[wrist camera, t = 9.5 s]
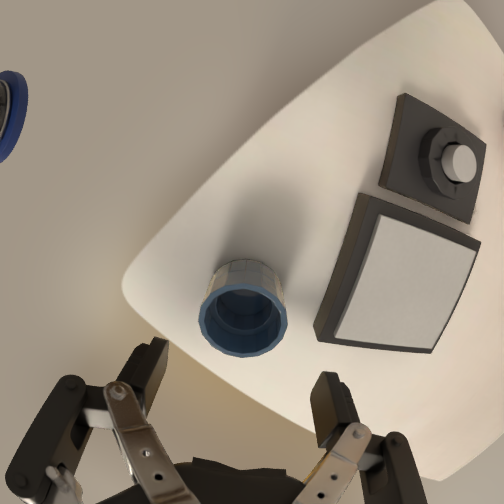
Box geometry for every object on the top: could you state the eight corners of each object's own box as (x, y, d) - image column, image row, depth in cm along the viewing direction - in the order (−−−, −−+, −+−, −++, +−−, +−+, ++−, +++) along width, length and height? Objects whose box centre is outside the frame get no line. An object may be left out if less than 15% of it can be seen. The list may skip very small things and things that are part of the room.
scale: (312, 325, 23) (318, 346, 21) (358, 192, 20) (373, 196, 17) (421, 341, 24) (433, 357, 21) (466, 235, 21) (485, 244, 18)
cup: (205, 312, 23) (193, 347, 18) (217, 249, 21) (206, 274, 17) (270, 326, 23) (273, 363, 19) (290, 266, 22) (298, 295, 17)
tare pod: (378, 185, 20) (395, 189, 17) (397, 96, 17) (415, 88, 14) (460, 221, 20) (480, 229, 17) (477, 144, 18) (497, 144, 15)
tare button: (438, 172, 16) (449, 174, 15) (444, 139, 16) (456, 138, 14) (461, 185, 17) (472, 187, 15) (467, 153, 16) (479, 154, 14)
